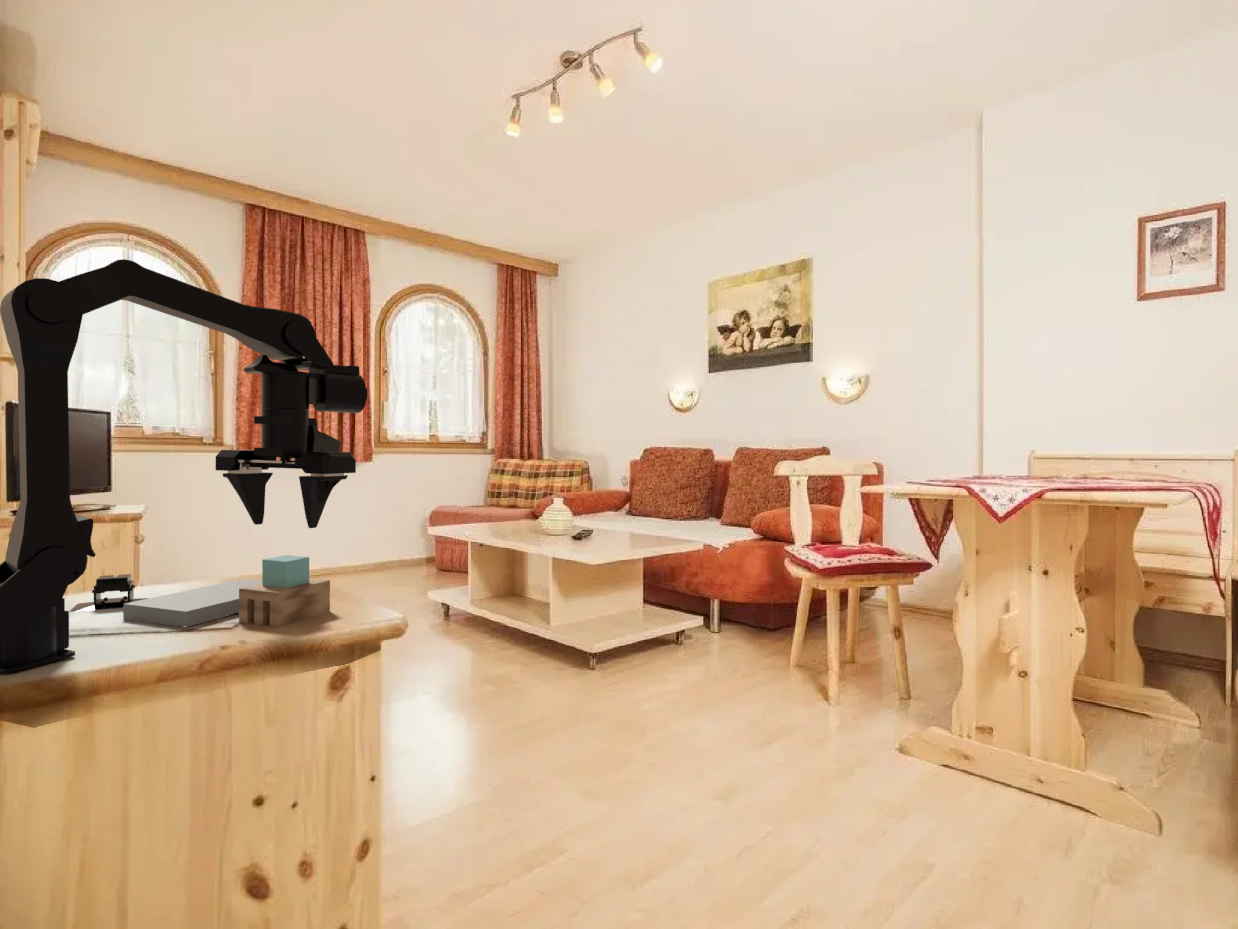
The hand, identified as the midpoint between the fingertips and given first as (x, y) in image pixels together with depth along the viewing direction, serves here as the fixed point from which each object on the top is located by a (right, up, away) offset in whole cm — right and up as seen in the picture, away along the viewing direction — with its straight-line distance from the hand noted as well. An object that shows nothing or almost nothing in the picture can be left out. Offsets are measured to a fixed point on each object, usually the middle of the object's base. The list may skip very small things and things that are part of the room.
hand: (285, 526), depth 91 cm
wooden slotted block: (0, -12, 0) cm, 12 cm away
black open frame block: (-27, -12, +5) cm, 30 cm away
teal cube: (0, -8, 0) cm, 8 cm away
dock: (-12, -12, +4) cm, 17 cm away
